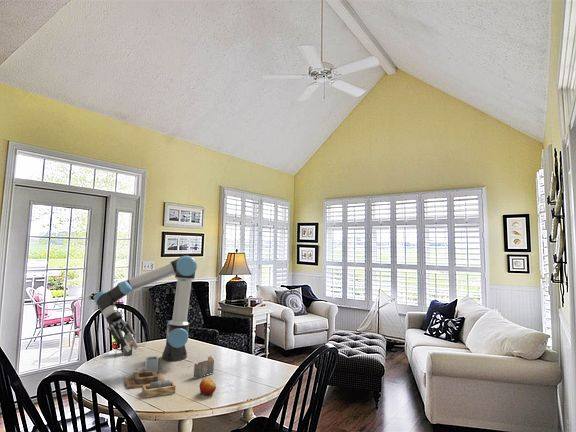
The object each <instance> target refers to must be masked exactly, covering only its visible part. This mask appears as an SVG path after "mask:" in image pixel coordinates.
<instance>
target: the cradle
mask: <svg viewBox="0 0 576 432" xmlns="http://www.w3.org/2000/svg"><path fill="white" fill-rule="evenodd" d="M132 375H133V376H127V377H124V381H125V385H126V390H132V389H137V388H143V385H148V384H150V382H157V381H165V380H166V379H165V378H164V376H163V374H162V372H159V373H158V372H156V371H155V370H152V371H145V370H143V371H136V372H133V374H132Z"/></svg>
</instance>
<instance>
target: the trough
mask: <svg viewBox="0 0 576 432" xmlns="http://www.w3.org/2000/svg"><path fill="white" fill-rule="evenodd" d="M164 380H165V381H157V382H150V384H148V385H143V387H141V388H142V389H141V393H142V396H143V398H151V397H158V396H165V395H172V394H176V384H175V383H174V381H173V380H172V381H171V380H170V379H164Z"/></svg>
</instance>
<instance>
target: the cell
mask: <svg viewBox="0 0 576 432" xmlns="http://www.w3.org/2000/svg"><path fill="white" fill-rule="evenodd" d="M123 337H124V339H126V341H127V342H128V344H129V345H130V347H131V350H130V351H129V352H127V351H126V349H125V348H124V347H123V353H122V356H123V357H130V356H132V355H133V349H134V347H133V333H127V334H125V333H124V335H123Z"/></svg>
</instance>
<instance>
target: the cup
mask: <svg viewBox="0 0 576 432" xmlns="http://www.w3.org/2000/svg"><path fill="white" fill-rule="evenodd" d="M144 362H145V364H144V371H152V370H155V371H156V373H158V370H159V358H158V356H156V355H155V356H146V357H145V361H144Z"/></svg>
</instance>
